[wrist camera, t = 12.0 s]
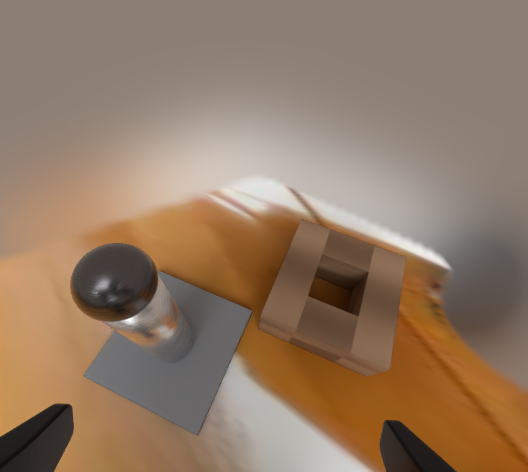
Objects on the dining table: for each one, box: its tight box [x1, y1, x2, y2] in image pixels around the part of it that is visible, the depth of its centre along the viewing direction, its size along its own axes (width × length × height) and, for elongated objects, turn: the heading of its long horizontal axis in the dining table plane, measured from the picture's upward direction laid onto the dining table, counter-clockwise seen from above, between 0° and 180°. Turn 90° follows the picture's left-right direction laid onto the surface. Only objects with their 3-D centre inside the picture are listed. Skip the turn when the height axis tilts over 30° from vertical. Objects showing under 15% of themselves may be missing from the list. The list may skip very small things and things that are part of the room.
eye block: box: [258, 219, 406, 377], centre depth 23 cm, size 9×9×4 cm
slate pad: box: [84, 270, 252, 435], centre depth 22 cm, size 9×9×1 cm
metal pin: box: [70, 243, 194, 363], centre depth 16 cm, size 3×3×13 cm
